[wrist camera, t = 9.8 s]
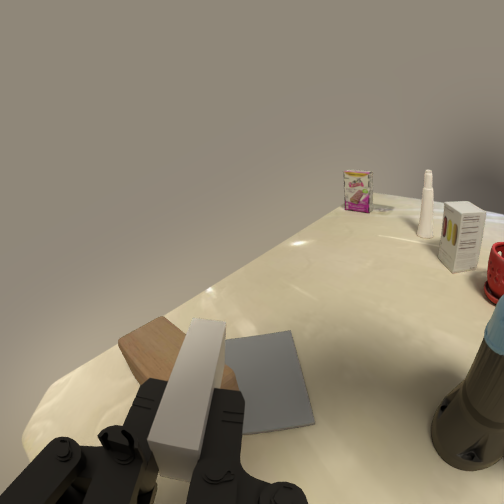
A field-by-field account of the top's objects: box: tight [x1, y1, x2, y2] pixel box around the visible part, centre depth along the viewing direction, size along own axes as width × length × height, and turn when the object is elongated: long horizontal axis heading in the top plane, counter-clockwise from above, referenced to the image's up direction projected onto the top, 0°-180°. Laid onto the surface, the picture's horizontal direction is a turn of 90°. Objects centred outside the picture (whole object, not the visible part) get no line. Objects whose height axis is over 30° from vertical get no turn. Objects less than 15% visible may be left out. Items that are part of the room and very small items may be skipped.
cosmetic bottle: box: [417, 170, 433, 238], centre depth 84 cm, size 6×6×22 cm
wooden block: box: [118, 316, 239, 391], centre depth 43 cm, size 10×10×20 cm
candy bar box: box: [344, 170, 373, 213], centre depth 114 cm, size 11×5×16 cm, turn 51°
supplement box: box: [438, 201, 486, 273], centre depth 66 cm, size 10×9×17 cm
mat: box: [224, 330, 315, 435], centre depth 47 cm, size 22×22×1 cm
